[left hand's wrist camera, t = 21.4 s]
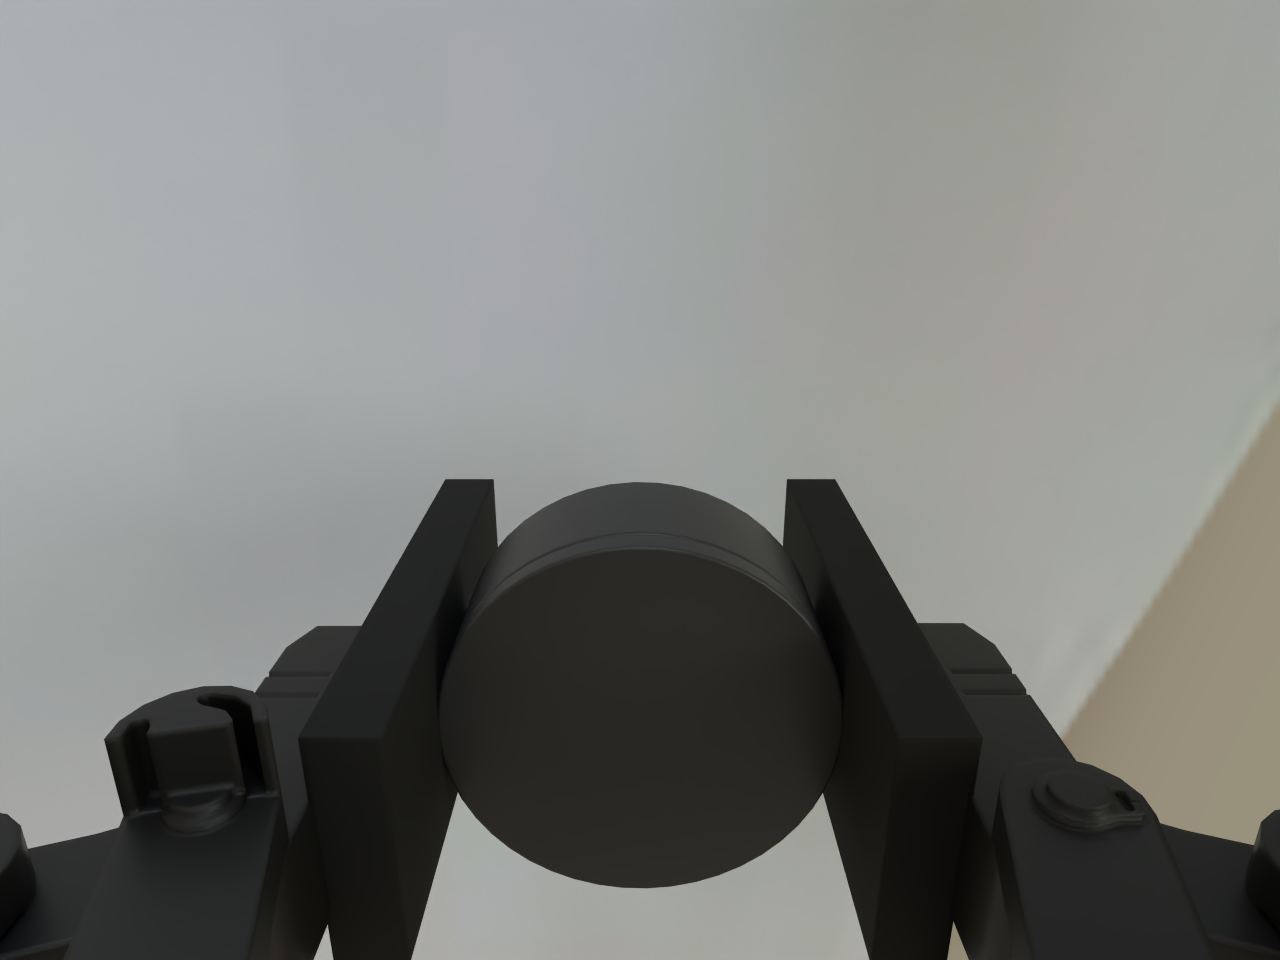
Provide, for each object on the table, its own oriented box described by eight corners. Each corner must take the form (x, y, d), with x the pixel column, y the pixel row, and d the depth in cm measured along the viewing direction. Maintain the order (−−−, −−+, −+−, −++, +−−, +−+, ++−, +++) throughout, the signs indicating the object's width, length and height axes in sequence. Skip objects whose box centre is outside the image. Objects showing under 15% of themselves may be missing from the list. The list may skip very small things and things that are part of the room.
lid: (397, 592, 12) (352, 676, 10) (701, 412, 11) (713, 468, 9) (590, 831, 13) (581, 943, 11) (873, 689, 12) (914, 784, 11)
